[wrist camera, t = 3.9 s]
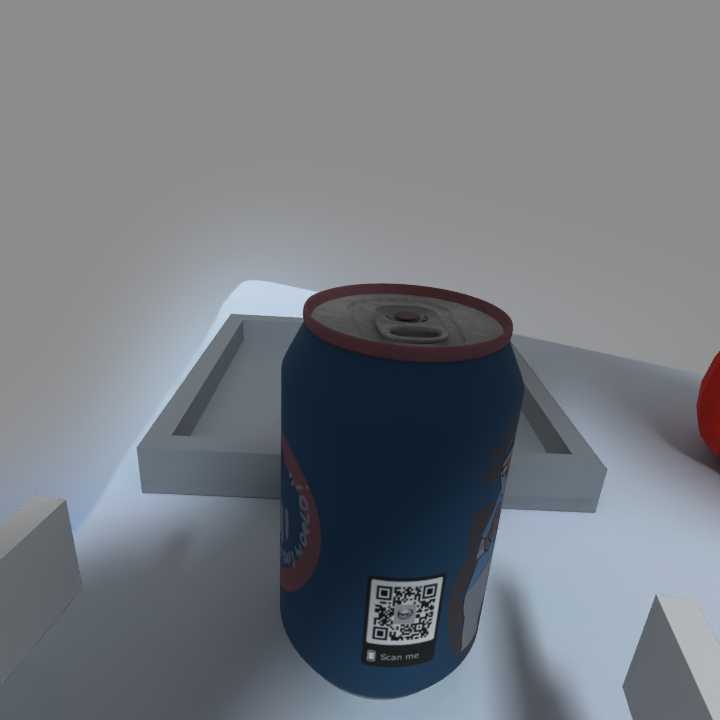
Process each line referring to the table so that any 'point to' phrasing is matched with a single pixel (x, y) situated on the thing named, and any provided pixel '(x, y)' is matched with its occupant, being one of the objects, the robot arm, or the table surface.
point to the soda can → (392, 480)
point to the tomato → (710, 406)
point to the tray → (263, 429)
